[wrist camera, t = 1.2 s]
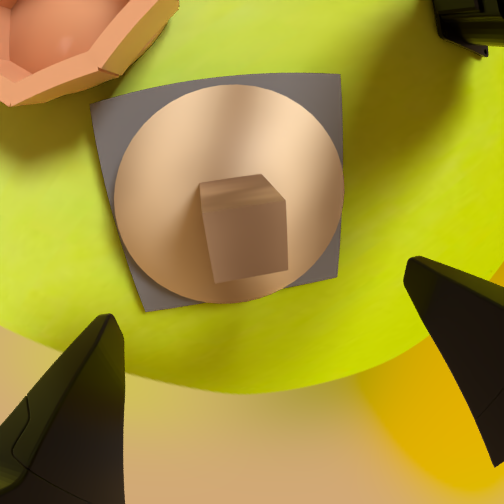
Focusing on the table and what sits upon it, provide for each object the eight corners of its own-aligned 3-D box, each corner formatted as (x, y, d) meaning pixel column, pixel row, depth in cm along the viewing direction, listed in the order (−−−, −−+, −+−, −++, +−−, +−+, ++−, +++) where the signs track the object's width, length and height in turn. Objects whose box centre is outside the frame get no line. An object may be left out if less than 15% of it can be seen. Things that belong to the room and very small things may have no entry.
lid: (332, 82, 13) (389, 80, 9) (331, 272, 19) (367, 323, 15) (99, 110, 12) (55, 118, 7) (150, 305, 18) (143, 368, 13)
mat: (330, 75, 14) (340, 74, 13) (330, 267, 20) (337, 277, 19) (96, 103, 12) (89, 104, 11) (147, 300, 19) (145, 311, 18)
